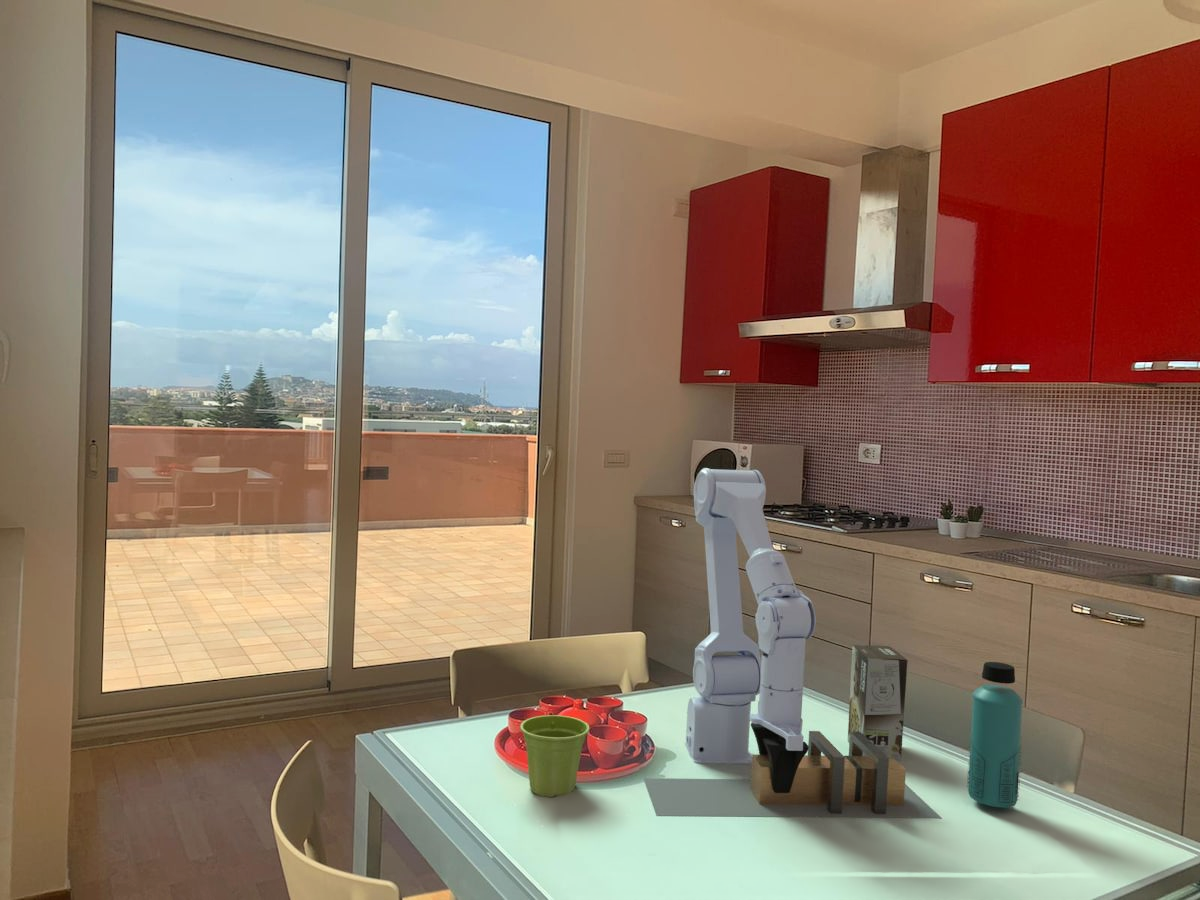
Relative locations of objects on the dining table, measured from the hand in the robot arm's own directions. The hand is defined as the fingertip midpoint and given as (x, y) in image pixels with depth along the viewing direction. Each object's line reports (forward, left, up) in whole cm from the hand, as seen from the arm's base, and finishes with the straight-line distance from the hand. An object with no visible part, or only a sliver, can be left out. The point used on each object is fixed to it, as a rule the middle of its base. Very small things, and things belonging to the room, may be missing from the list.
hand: (775, 784), depth 121 cm
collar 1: (+7, 0, -2) cm, 7 cm away
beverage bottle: (+30, -2, -2) cm, 30 cm away
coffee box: (+22, +19, -2) cm, 29 cm away
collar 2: (+13, 0, -2) cm, 13 cm away
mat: (+2, 0, -2) cm, 3 cm away
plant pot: (-30, +3, -2) cm, 31 cm away
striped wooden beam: (+7, 0, -2) cm, 7 cm away
